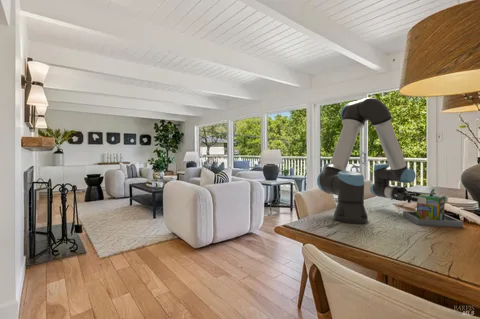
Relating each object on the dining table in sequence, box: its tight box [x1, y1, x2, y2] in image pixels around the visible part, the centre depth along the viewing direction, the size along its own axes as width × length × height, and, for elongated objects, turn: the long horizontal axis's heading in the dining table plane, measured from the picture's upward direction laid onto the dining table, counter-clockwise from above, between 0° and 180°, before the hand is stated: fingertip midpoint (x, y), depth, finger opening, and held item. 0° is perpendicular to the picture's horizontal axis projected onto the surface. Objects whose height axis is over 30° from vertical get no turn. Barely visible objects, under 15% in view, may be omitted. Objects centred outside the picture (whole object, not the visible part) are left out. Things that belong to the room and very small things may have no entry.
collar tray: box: [402, 210, 464, 228], centre depth 118 cm, size 17×17×2 cm
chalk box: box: [416, 188, 446, 220], centre depth 117 cm, size 9×9×15 cm
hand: (436, 200), depth 115 cm, fingers open, 13 cm apart
